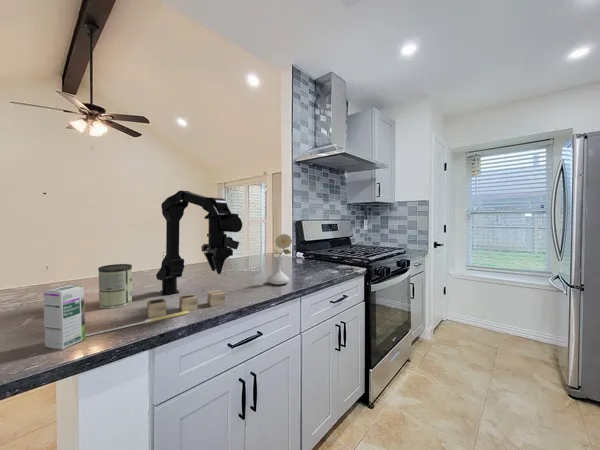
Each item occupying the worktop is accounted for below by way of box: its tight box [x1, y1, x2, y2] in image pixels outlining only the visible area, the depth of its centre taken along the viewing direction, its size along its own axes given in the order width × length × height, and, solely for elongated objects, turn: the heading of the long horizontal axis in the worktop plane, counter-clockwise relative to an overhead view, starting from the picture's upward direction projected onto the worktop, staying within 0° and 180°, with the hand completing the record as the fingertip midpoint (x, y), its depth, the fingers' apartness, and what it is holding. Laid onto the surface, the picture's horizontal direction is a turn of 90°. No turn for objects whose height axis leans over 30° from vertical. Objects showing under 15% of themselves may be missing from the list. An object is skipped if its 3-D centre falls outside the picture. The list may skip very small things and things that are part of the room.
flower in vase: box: [266, 233, 293, 285], centre depth 132 cm, size 13×11×25 cm
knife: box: [85, 311, 190, 338], centre depth 81 cm, size 1×33×4 cm
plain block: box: [206, 289, 226, 308], centre depth 101 cm, size 5×5×4 cm
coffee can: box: [97, 263, 133, 309], centre depth 99 cm, size 10×10×14 cm
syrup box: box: [42, 284, 86, 351], centre depth 68 cm, size 6×6×14 cm
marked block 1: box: [146, 298, 167, 319], centre depth 89 cm, size 5×5×5 cm
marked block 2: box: [178, 293, 198, 312], centre depth 95 cm, size 5×5×5 cm
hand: (216, 272), depth 100 cm, fingers open, 6 cm apart
